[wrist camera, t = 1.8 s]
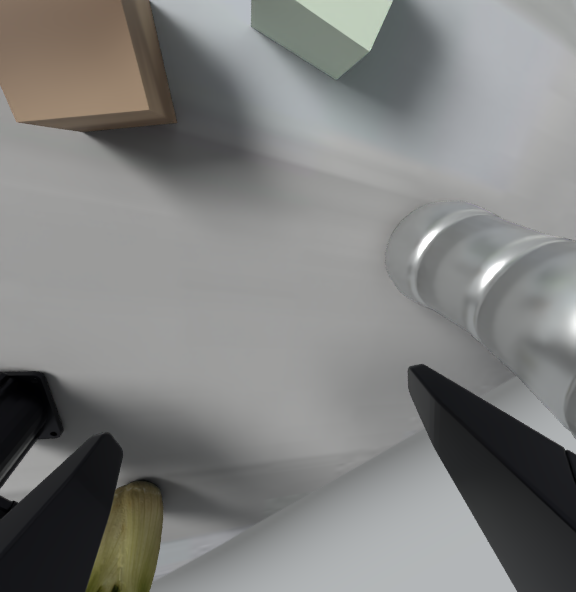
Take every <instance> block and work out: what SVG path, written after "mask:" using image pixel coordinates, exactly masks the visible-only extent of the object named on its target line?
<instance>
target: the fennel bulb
mask: <svg viewBox="0 0 576 592" xmlns="http://www.w3.org/2000/svg"><path fill="white" fill-rule="evenodd" d="M162 523H163V502H162V496H161V492H160V489H159V488H158V487H157V486H156V485H154V484H152V483H149V482H145V481H135V482H131V483H129V484H128V485H124V486H121V487H119V488H117V489H116V490H115V494H114V499H113V503H112V507H111V511H110V515H109V518H108V522H107V525H106V528H105V531H104V534H103V538H102V541H101V544H100V547H99V550H98V553H97V556H96V560H95V563H94V566H93V569H92V572H91V575H90V579H89V582H88V585H87V588H86V591H85V592H149V590H150V588H151V584H152V581H153V577H154V573H155V570H156V565H157V560H158V554H159V550H160V542H161V534H162Z"/></svg>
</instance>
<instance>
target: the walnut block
mask: <svg viewBox="0 0 576 592" xmlns="http://www.w3.org/2000/svg"><path fill="white" fill-rule="evenodd" d="M0 85H1V88H2V90H3V92H4V95H5V97H6V99H7V101H8V104H9V106H10V108H11V111H12V113H13V115H14V117H15V120H16V122H19V123H25V124H32V125H39V126H45V127H52V128H59V129H65V130H72V131H79V132H89V131H99V130H109V129H120V128H130V127H140V126H151V125H161V124H171V123H177V120H176V116H175V111H174V107H173V102H172V98H171V94H170V89H169V85H168V81H167V76H166V72H165V67H164V63H163V59H162V54H161V50H160V45H159V41H158V37H157V32H156V28H155V24H154V19H153V15H152V10H151V6H150V2H149V0H0Z"/></svg>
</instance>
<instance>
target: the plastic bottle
mask: <svg viewBox="0 0 576 592" xmlns="http://www.w3.org/2000/svg"><path fill="white" fill-rule="evenodd" d="M385 264H386V270H387V272H388V274H389V277H390V278H391V280H392V281H393V283H394V284H395V286H396V287H397V289H398V290H399V291H400V292H401V293H402V294H403V295H405V296H406V297H408V298H409V299H411V300H413V301H415V302H416V303H418V304H420V305H423V306H425V307H427V308H430V309H432V310H434V311H436V312H437V313H439V314H441V315H442V316H444V317H445V318H447V319H448V320H450V321H452V322H453V323H455V324H456V325H458V326H459V327H461V328H463V329H464V330H466V331H467V332H469V333H470V334H471V335H472V336H473V337H474V338H475V339H477V340H478V341H479V342H480V343H482V344H483V345H484V346H485V347H486V348H487V349H488V350H489V351H490V352H491V353H492V354H494V355H495V356H496V357H497V358H498V359H499V360H500V361H502V362H503V363H504V364H505V365H506V366H507V367H508V368H509V369H511V370H512V371H513V372H514V373H515V375H516V376H517V377H518V378H519V379H520V380H521V381H522V382H523V383H524V384H525V385H526V386H527V387H528V388H529V389H530V391H531V392H532V393H533V394H534V395H535V396H536V397H537V398H538V399H539V400H540V401H541V402H542V403H543V404H544V405H545V406H546V408H547V409H548V410H549V411H550V412H551V413H552V414H553V415H554V416H555V417H556V418H557V419H558V420H559V421H560V423H562V425H563V426H564V427H565V428H567V429H568V430H569V431H571V433H572V435H573V436H574V438H575V439H576V241H574V240H570V239H567V238H562V237H557V236H552V235H547V234H544V233H541V232H539V231H536V230H533V229H530V228H527V227H525V226H522V225H519V224H516V223H513V222H510V221H508V220H505V219H502V218H500V217H499V216H497V215H495V214H494V213H492V212H490V211H489V210H487V209H485V208H482V207H480V206H477V205H475V204H473V203H469V202H465V201H439V202H434V203H429V204H426V205H424V206H421V207H419V208H418V209H416V210H414V211H413V212H411V213H410V214H409V215H408V216H406V217H405V218H404V219H403V220H402V221H401V222H400V224H399V225H398V226H397V227H396V229H395V230H394V232H393V233H392V235H391V237H390V240H389V242H388V244H387V248H386V253H385Z"/></svg>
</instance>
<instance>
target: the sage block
mask: <svg viewBox="0 0 576 592" xmlns="http://www.w3.org/2000/svg"><path fill="white" fill-rule="evenodd" d="M392 2H393V0H251V27H253V28H254V29H256V30H257V31H259V32H261V33H262V34H264V35H265V36H267V37H269V38H270V39H272V40H273V41H275V42H276V43H278V44H280V45H281V46H283V47H284V48H286V49H288V50H289V51H291V52H292V53H294V54H296V55H297V56H299V57H300V58H302V59H303V60H305V61H307V62H308V63H310V64H311V65H313V66H315V67H316V68H318V69H319V70H321V71H323V72H324V73H326V74H327V75H329V76H330V77H332V78H334V79H335V80H337V79H338V78H340V77H341V76H342V75H343V74H344V73H345V72H347V71H348V70H349V69H350V68H351V67H352V66H354V65H355V64H356V63H357V62H358V61H359V60H361V59H362V58H363V57H364V56H365V55H367V54H368V53H369V52H370V50H371V48H372V46H373V43H374V41H375V39H376V37H377V35H378V32H379V30H380V28H381V26H382V24H383V21H384V19H385V17H386V15H387V13H388V10H389V8H390V6H391V4H392Z"/></svg>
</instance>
